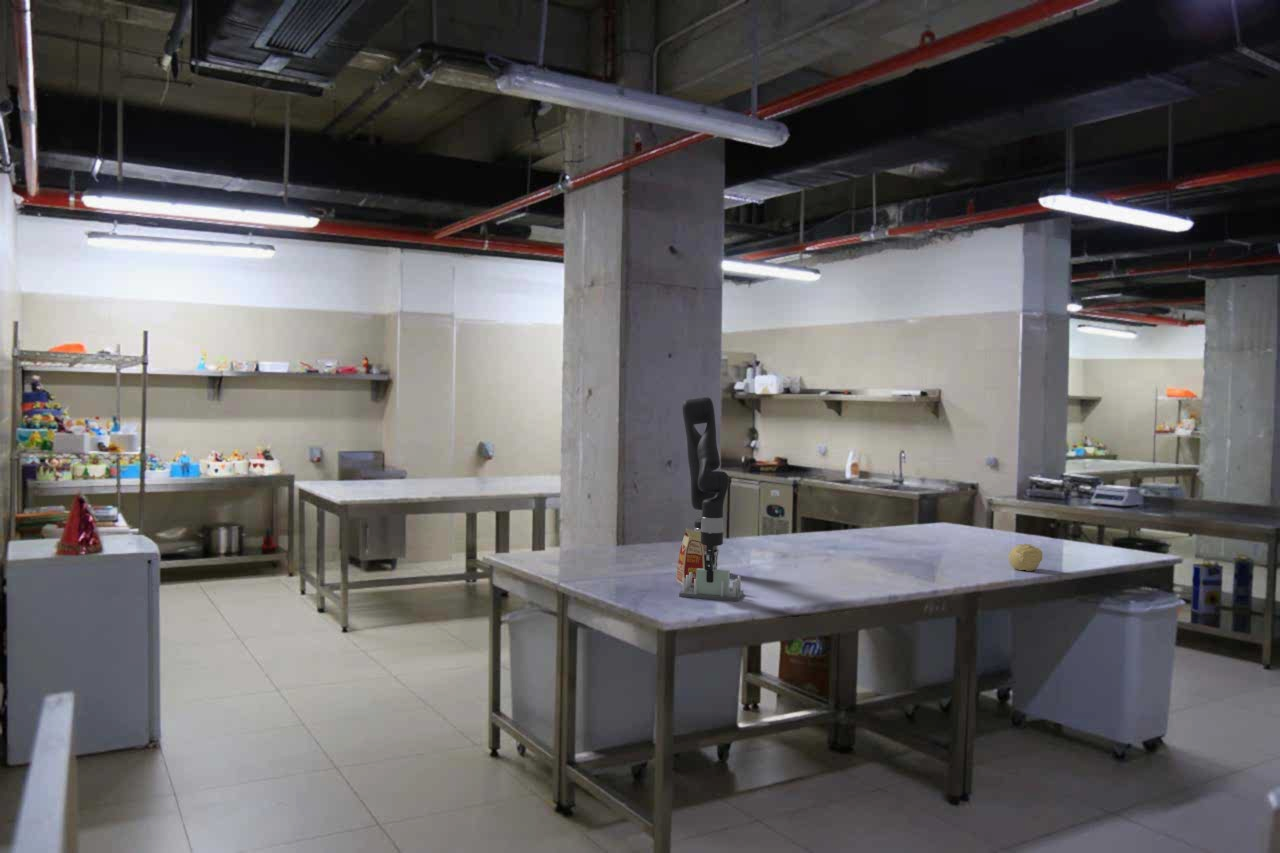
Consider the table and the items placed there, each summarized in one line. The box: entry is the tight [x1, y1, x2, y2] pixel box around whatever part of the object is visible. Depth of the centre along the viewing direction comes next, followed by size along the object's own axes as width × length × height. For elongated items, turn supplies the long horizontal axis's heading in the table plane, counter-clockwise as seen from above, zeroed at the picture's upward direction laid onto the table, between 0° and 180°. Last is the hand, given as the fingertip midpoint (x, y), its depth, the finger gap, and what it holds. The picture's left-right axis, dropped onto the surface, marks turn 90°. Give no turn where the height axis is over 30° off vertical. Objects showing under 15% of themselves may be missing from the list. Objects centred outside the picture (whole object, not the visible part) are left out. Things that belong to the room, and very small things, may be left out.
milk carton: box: [676, 528, 705, 586], centre depth 327 cm, size 9×9×20 cm
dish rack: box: [678, 572, 744, 602], centre depth 306 cm, size 12×20×6 cm, turn 75°
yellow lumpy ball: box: [1008, 543, 1044, 572], centre depth 370 cm, size 11×12×11 cm
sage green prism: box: [696, 568, 731, 596], centre depth 303 cm, size 3×11×8 cm, turn 75°
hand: (710, 581), depth 303 cm, fingers closed on sage green prism, 3 cm apart
